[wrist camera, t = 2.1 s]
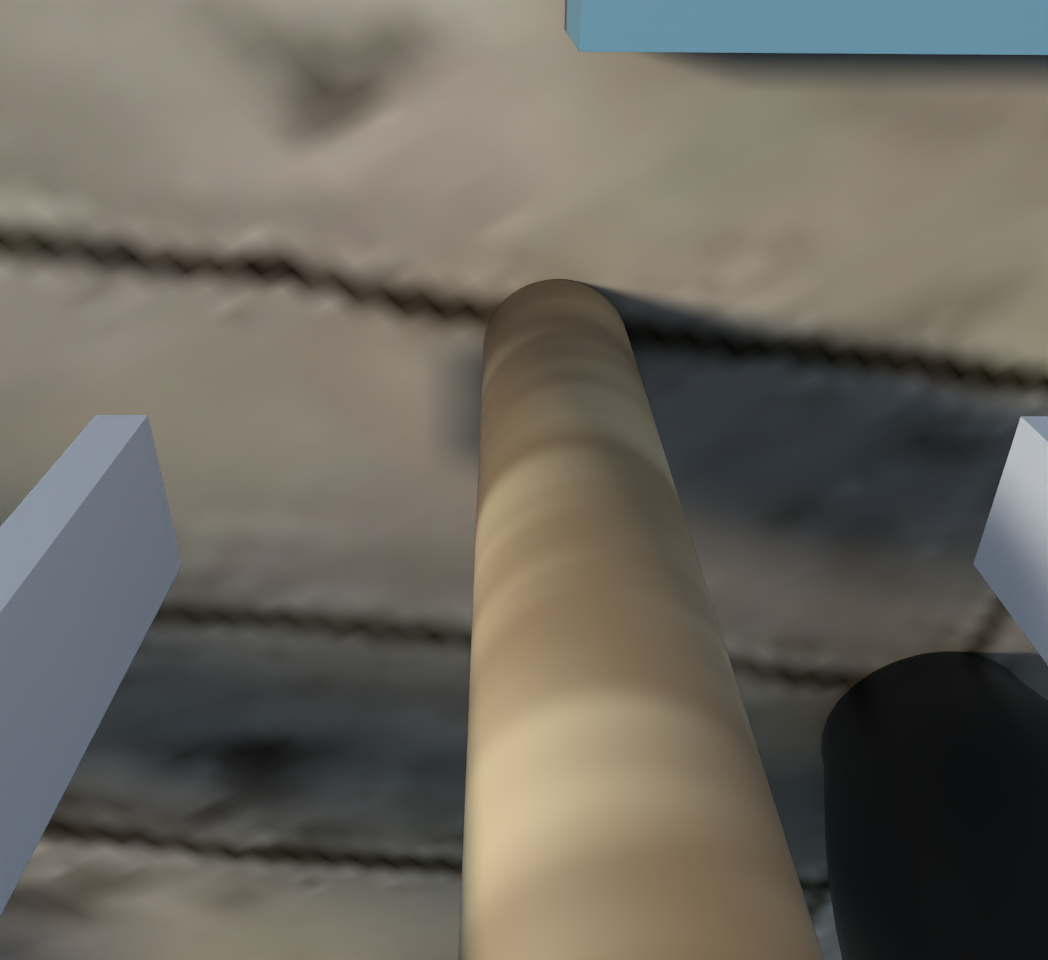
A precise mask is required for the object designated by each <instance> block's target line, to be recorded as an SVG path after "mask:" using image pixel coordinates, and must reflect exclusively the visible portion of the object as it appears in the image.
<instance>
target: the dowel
mask: <svg viewBox="0 0 1048 960" xmlns="http://www.w3.org/2000/svg"><path fill="white" fill-rule="evenodd" d="M458 960H824V958H823V955H822V952H821V949H820V945H819V942H818V939H817V936H816V933H815V929H814V926H813V923H812V920H811V917H810V914H809V910H808V907H807V904H806V901H805V898H804V895H803V891H802V888H801V885H800V882H799V879H798V875H797V872H796V869H795V866H794V863H793V860H792V856H791V853H790V850H789V847H788V844H787V840H786V837H785V834H784V831H783V828H782V825H781V821H780V818H779V815H778V812H777V809H776V806H775V802H774V799H773V796H772V793H771V790H770V786H769V783H768V780H767V777H766V774H765V771H764V767H763V764H762V761H761V758H760V755H759V752H758V748H757V745H756V742H755V739H754V736H753V732H752V729H751V726H750V723H749V720H748V717H747V713H746V710H745V707H744V704H743V701H742V698H741V694H740V691H739V688H738V685H737V682H736V678H735V675H734V672H733V669H732V666H731V663H730V659H729V656H728V653H727V650H726V647H725V643H724V640H723V637H722V634H721V631H720V628H719V624H718V621H717V618H716V615H715V612H714V609H713V605H712V602H711V599H710V596H709V593H708V589H707V586H706V583H705V580H704V577H703V574H702V570H701V567H700V564H699V561H698V558H697V555H696V551H695V548H694V545H693V542H692V539H691V535H690V532H689V529H688V526H687V523H686V520H685V516H684V513H683V510H682V507H681V504H680V500H679V497H678V494H677V491H676V488H675V485H674V481H673V478H672V475H671V472H670V469H669V466H668V462H667V459H666V456H665V453H664V450H663V446H662V443H661V440H660V437H659V434H658V431H657V427H656V424H655V421H654V418H653V415H652V412H651V408H650V405H649V402H648V399H647V396H646V392H645V389H644V386H643V383H642V380H641V377H640V373H639V370H638V367H637V364H636V361H635V358H634V354H633V351H632V348H631V345H630V342H629V338H628V335H627V332H626V329H625V326H624V323H623V321H622V318H621V316H620V314H619V313H618V311H617V309H616V308H615V307H614V305H613V304H612V303H611V302H610V301H609V300H608V299H607V298H606V297H605V296H604V295H603V294H601V293H600V292H598V291H597V290H595V289H593V288H591V287H589V286H587V285H585V284H582V283H579V282H576V281H570V280H561V279H554V280H544V281H539V282H536V283H533V284H530V285H527V286H525V287H523V288H521V289H519V290H517V291H516V292H514V293H513V294H511V295H510V296H509V297H508V298H507V299H505V300H504V301H503V302H502V304H501V305H500V306H499V307H498V308H497V310H496V311H495V313H494V314H493V316H492V318H491V320H490V321H489V324H488V326H487V329H486V333H485V338H484V349H483V374H482V398H481V422H480V446H479V471H478V495H477V519H476V543H475V568H474V592H473V616H472V641H471V665H470V689H469V713H468V738H467V762H466V786H465V811H464V835H463V859H462V883H461V908H460V932H459V956H458Z"/></svg>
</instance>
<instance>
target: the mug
mask: <svg viewBox="0 0 1048 960" xmlns="http://www.w3.org/2000/svg"><path fill="white" fill-rule="evenodd" d="M821 752H822V758H823V765H824V805H825V838H826V853H827V864H828V876H829V885H830V892H831V899H832V906H833V912H834V919H835V926H836V931H837V936H838V941H839V945H840V950H841V955H842V959H843V960H1048V701H1047V700H1046V699H1044V698H1043V697H1041V696H1040V695H1039V694H1037V693H1036V692H1035V691H1033V690H1032V689H1030V688H1029V687H1028V686H1026V685H1025V684H1024V683H1022V682H1021V681H1020V680H1019V679H1018V678H1017V677H1015V676H1014V675H1013V674H1012V673H1011V672H1010V671H1009V670H1008V669H1007V668H1005V667H1003V666H1001V665H999V664H997V663H995V662H993V661H991V660H989V659H986V658H982V657H978V656H974V655H970V654H963V653H935V654H927V655H920V656H915V657H912V658H908V659H905V660H901V661H898V662H895V663H893V664H891V665H888V666H886V667H884V668H882V669H880V670H878V671H875V672H873V673H872V674H870V675H869V676H867V677H866V678H864V679H863V680H861V681H860V682H859V683H857V684H856V685H854V686H853V687H852V688H851V689H850V690H849V691H848V692H847V693H846V694H845V695H844V696H843V697H842V698H841V699H840V700H839V701H838V703H837V704H836V706H835V707H834V709H833V710H832V712H831V713H830V715H829V717H828V719H827V722H826V725H825V728H824V731H823V734H822V750H821Z"/></svg>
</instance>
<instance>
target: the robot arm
mask: <svg viewBox="0 0 1048 960" xmlns="http://www.w3.org/2000/svg"><path fill="white" fill-rule="evenodd" d="M973 564H974V566H975V567H976V568H977V570H978V571H979V572H980V574H981V575H982V577H983V578H984V579H985V581H986V582H987V583H988V585H989V586H990V587H991V589H992V590H993V592H994V593H995V594H996V596H997V597H998V598H999V600H1000V601H1001V602H1002V604H1003V605H1004V607H1005V608H1006V609H1007V611H1008V612H1009V613H1010V615H1011V616H1012V617H1013V619H1014V620H1015V621H1016V623H1017V624H1018V626H1019V627H1020V628H1021V630H1022V631H1023V632H1024V634H1025V635H1026V636H1027V638H1028V639H1029V641H1030V642H1031V643H1032V645H1033V646H1034V647H1035V649H1036V650H1037V651H1038V653H1039V654H1040V656H1041V657H1042V658H1043V660H1044V661H1045V662H1046V664H1047V665H1048V416H1021V417H1020V421H1019V424H1018V427H1017V430H1016V433H1015V436H1014V439H1013V442H1012V445H1011V448H1010V452H1009V455H1008V458H1007V461H1006V464H1005V467H1004V470H1003V473H1002V476H1001V479H1000V483H999V486H998V489H997V492H996V495H995V498H994V501H993V504H992V507H991V510H990V514H989V517H988V520H987V523H986V526H985V529H984V532H983V535H982V538H981V541H980V545H979V548H978V551H977V554H976V557H975V560H974V563H973ZM181 566H182V564H181V559H180V555H179V551H178V546H177V542H176V537H175V533H174V529H173V524H172V520H171V515H170V511H169V507H168V502H167V498H166V493H165V489H164V485H163V480H162V476H161V471H160V467H159V463H158V458H157V454H156V449H155V445H154V441H153V436H152V432H151V427H150V423H149V418H148V415H96V416H95V417H94V418H93V419H92V420H91V421H90V423H89V424H88V425H87V426H86V427H85V428H84V430H83V431H82V432H81V433H80V434H79V435H78V437H77V438H76V439H75V440H74V441H73V442H72V444H71V445H70V446H69V447H68V448H67V449H66V451H65V452H64V453H63V454H62V455H61V456H60V458H59V459H58V460H57V461H56V462H55V463H54V465H53V466H52V467H51V468H50V469H49V471H48V472H47V473H46V474H45V475H44V476H43V478H42V479H41V480H40V481H39V482H38V483H37V485H36V486H35V487H34V488H33V489H32V490H31V492H30V493H29V494H28V495H27V496H26V497H25V499H24V500H23V501H22V502H21V503H20V504H19V506H18V507H17V508H16V509H15V510H14V511H13V513H12V514H11V515H10V516H9V517H8V518H7V520H6V521H5V522H4V523H3V524H2V525H1V527H0V916H1V914H2V912H3V910H4V908H5V906H6V904H7V902H8V900H9V898H10V896H11V894H12V893H13V891H14V889H15V887H16V885H17V883H18V881H19V879H20V877H21V875H22V873H23V871H24V869H25V867H26V865H27V864H28V862H29V860H30V858H31V856H32V854H33V852H34V850H35V848H36V846H37V844H38V842H39V840H40V838H41V836H42V835H43V833H44V831H45V829H46V827H47V825H48V823H49V821H50V819H51V817H52V815H53V813H54V811H55V809H56V807H57V805H58V804H59V802H60V800H61V798H62V796H63V794H64V792H65V790H66V788H67V786H68V784H69V782H70V780H71V778H72V776H73V775H74V773H75V771H76V769H77V767H78V765H79V763H80V761H81V759H82V757H83V755H84V753H85V751H86V749H87V747H88V745H89V744H90V742H91V740H92V738H93V736H94V734H95V732H96V730H97V728H98V726H99V724H100V722H101V720H102V718H103V716H104V715H105V713H106V711H107V709H108V707H109V705H110V703H111V701H112V699H113V697H114V695H115V693H116V691H117V689H118V687H119V686H120V684H121V682H122V680H123V678H124V676H125V674H126V672H127V670H128V668H129V666H130V664H131V662H132V660H133V658H134V656H135V655H136V653H137V651H138V649H139V647H140V645H141V643H142V641H143V639H144V637H145V635H146V633H147V631H148V629H149V627H150V626H151V624H152V622H153V620H154V618H155V616H156V614H157V612H158V610H159V608H160V606H161V604H162V602H163V600H164V598H165V596H166V595H167V593H168V591H169V589H170V587H171V585H172V583H173V581H174V579H175V577H176V575H177V573H178V571H179V569H180V567H181Z"/></svg>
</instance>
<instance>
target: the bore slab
mask: <svg viewBox="0 0 1048 960" xmlns="http://www.w3.org/2000/svg"><path fill="white" fill-rule="evenodd" d="M565 30H566V32H567V33H568V35H569V37H570V38H571V40H572V41H573V43H574V44H575V46H576V47H577V49H578V50H579V52H702V53H843V54H984V55H1048V0H565Z"/></svg>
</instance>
